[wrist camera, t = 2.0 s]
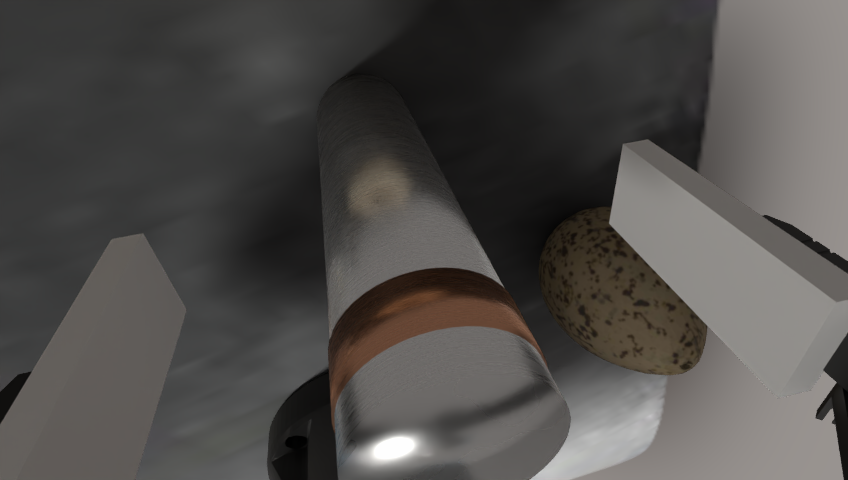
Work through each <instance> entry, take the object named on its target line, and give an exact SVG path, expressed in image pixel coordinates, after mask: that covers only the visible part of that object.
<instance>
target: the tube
mask: <svg viewBox="0 0 848 480" xmlns="http://www.w3.org/2000/svg"><path fill="white" fill-rule="evenodd" d="M317 128H318V145H319V163H320V180H321V197H322V214H323V231H324V248H325V266H326V283H327V300H328V317H329V334H330V340H329V346H328V361H329V380H330V399H331V418H332V426H333V430H334V433H335V437H336V455H337V472H338V480H529V479H531V478H532V477H533V476H535V475H536V474H537V473H538V472H540V471H541V470H542V469H543V468H544V467H545V466H546V465H547V464H548V463H549V462H550V461H551V460H552V459H553V458H554V457H555V455H556V454H557V453H558V452H559V450H560V449H561V447H562V446H563V444H564V442H565V440H566V438H567V435H568V432H569V428H570V418H571V417H570V412H569V408H568V406H567V404H566V402H565V400H564V398H563V396H562V394H561V392H560V390H559V389H558V387H557V385H556V383H555V381H554V379H553V377H552V376H551V374H550V372H549V370H548V366H547V362H546V359H545V357H544V355H543V353H542V351H541V349H540V347H539V346H538V344H537V342H536V340H535V338H534V337H533V335H532V333H531V331H530V329H529V327H528V326H527V324H526V322H525V320H524V318H523V316H522V315H521V313H520V311H519V309H518V307H517V305H516V304H515V302H514V300H513V298H512V297H511V295H510V294H509V293H508V291H507V290H506V289H505V288H504V286H503V285H502V283H501V281H500V279H499V277H498V275H497V273H496V272H495V270H494V268H493V266H492V264H491V262H490V260H489V259H488V257H487V255H486V253H485V251H484V249H483V247H482V246H481V244H480V242H479V240H478V238H477V236H476V234H475V233H474V231H473V229H472V227H471V225H470V223H469V221H468V220H467V218H466V216H465V214H464V212H463V210H462V208H461V207H460V205H459V203H458V201H457V199H456V197H455V195H454V194H453V192H452V190H451V188H450V186H449V184H448V182H447V181H446V179H445V177H444V175H443V173H442V171H441V169H440V168H439V166H438V164H437V162H436V160H435V158H434V156H433V155H432V153H431V151H430V149H429V147H428V145H427V143H426V142H425V140H424V138H423V136H422V134H421V132H420V130H419V129H418V127H417V125H416V123H415V121H414V119H413V117H412V116H411V114H410V112H409V110H408V108H407V106H406V104H405V103H404V101H403V99H402V97H401V95H400V94H399V92H398V91H397V90H396V89H395V88H394V87H393V86H392V85H391V84H390V83H388V82H387V81H385V80H383V79H381V78H379V77H376V76H373V75H368V74H357V75H351V76H347V77H345V78H342V79H340V80H339V81H337V82H336V83H334V84H333V85H332V86H331V87H330V88H329V89H328V90H327V91H326V92H325V94H324V95H323V97H322V99H321V101H320V103H319V107H318V111H317Z"/></svg>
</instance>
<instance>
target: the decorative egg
mask: <svg viewBox="0 0 848 480" xmlns="http://www.w3.org/2000/svg"><path fill="white" fill-rule="evenodd" d="M611 209H612V207H605V206H603V207H594V208H589V209H585V210H582V211H579V212H577V213H575V214H573V215H571V216H570V217H568V218H567V219H565V220H564V221H563V222H561V223H560V224H559V225H558V226H557V227H556V228H555V229H554V231H553V232H552V233H551V234H550V236H549V237H548V239H547V241H546V243H545V245H544V248H543V250H542V253H541V257H540V263H539V280H540V287H541V291H542V295H543V298H544V300H545V303H546V305H547V307H548V309H549V311H550V313H551V314H552V316H553V317H554V319H555V320H556V321H557V323H558V324H559V325H560V326H561V328H562V329H563V330H564V331H565V332H566V333H567V334H568V335H569V336H570V337H571V338H572V339H573V340H574V341H576V342H577V343H578V344H580V345H581V346H582V347H583V348H585V349H586V350H588V351H590V352H591V353H593V354H595V355H596V356H598V357H600V358H602V359H604V360H606V361H608V362H611V363H613V364H616V365H619V366H621V367H624V368H627V369H630V370H634V371H638V372H642V373H649V374H658V375H674V374H682V373H684V372H687V371H688V370H690V369H692V368H693V367H694V366H695V365H696V364H697V363H698V362H699V360H700V358H701V355H702V353H703V349H704V346H705V341H706V334H707V325H706V324H705V323H704V322H703V321H702V320H701V319H700V318H699V317H698V316H697V314H696V313H695V312H694V311H693V310H692V309H691V308H690V307H689V306H688V305H687V304H686V303H685V302H684V301H683V300H682V299H681V298H680V297H679V296H678V295H677V294H676V293H675V292H674V291H673V290H672V288H671V287H670V286H669V285H668V284H667V283H666V282H665V281H664V280H663V279H662V278H661V277H660V276H659V275H658V274H657V273H656V272H655V271H654V270H653V269H652V268H651V267H650V266H649V265H648V264H647V262H646V261H645V260H644V259H643V258H642V257H641V256H640V255H639V254H638V253H637V252H636V251H635V250H634V249H633V248H632V247H631V246H630V245H629V244H628V243H627V242H626V241H625V240H624V239H623V238H622V236H621V235H620V234H619V233H618V232H617V231H616V230H615V229H614V228H613V227H612V226H611V225H610V224H609V221H610V215H611Z"/></svg>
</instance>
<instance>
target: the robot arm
mask: <svg viewBox="0 0 848 480" xmlns="http://www.w3.org/2000/svg"><path fill="white" fill-rule="evenodd" d="M609 224H610V225H611V226H612V227H613V228H614V229H615V230H616V231H617V232H618V233H619V234H620V235H621V236H622V238H623V239H624V240H625V241H626V242H627V243H628V244H629V245H630V246H631V247H632V248H633V249H634V250H635V251H636V252H637V253H638V254H639V255H640V256H641V257H642V258H643V259H644V260H645V261H646V262H647V264H648V265H649V266H650V267H651V268H652V269H653V270H654V271H655V272H656V273H657V274H658V275H659V276H660V277H661V278H662V279H663V280H664V281H665V282H666V283H667V284H668V285H669V286H670V287H671V288H672V290H673V291H674V292H675V293H676V294H677V295H678V296H679V297H680V298H681V299H682V300H683V301H684V302H685V303H686V304H687V305H688V306H689V307H690V308H691V309H692V310H693V311H694V312H695V313H696V314H697V316H698V317H699V318H700V319H701V320H702V321H703V322H704V323H705V324H706V325H707V326H708V327H709V328H710V329H711V330H712V331H713V332H714V333H715V334H716V335H717V336H718V337H719V338H720V339H721V340H722V341H723V343H724V344H725V345H726V346H727V347H728V348H729V349H730V350H731V351H732V352H733V353H734V354H735V355H736V356H737V357H738V358H739V359H740V360H741V361H742V362H743V363H744V364H745V365H746V366H747V368H749V370H750V371H751V372H752V373H753V374H754V375H755V376H756V377H757V378H758V379H759V380H760V381H761V382H762V383H763V384H764V385H765V386H766V387H767V388H768V389H769V390H770V391H771V392H772V394H774V395H775V397H776V398H777V399H779V398H783V397H787V396H791V395H794V394H798V393H802V392H806V391H810V390H811V389H812V388H813V386H814V385H815V383H816V382H817V380H818V379H819V377H820V376H821V374H822V373H823V371H825V372H826V373H827V374H828V375H829V376H830V377H831V378H833V379H834V380H835V381H836V382H837V383H836V384H835V386H834V387H833V389H832V390H831V391H830V393H829V394H828V396H827V397H826V398H825V400H824V401H823V403H822V404H821V405H820V407H819V408H818V410H817V413H816V418H817V419H820V420H823V419H824V417H825V416H826V414H827V413H828V412H829V410H830V409H832V408H833V411H834V417H835V419H834V420H833V421H832V423H833V424H836V431H837V437H838V444H839V451H840V457H841V464H842V470H843V477H844V480H848V261H846V260H845V259H843V258H842V257H840V256H839V255H837V254H836V253H830V249H828V248H826V247H825V246H823V245H822V244H820V243H819V242H817V241H816V242H814V241H813V239H812V238H811V237H810V236H808V235H806V234H805V233H803V232H802V231H800V230H799V229H797V228H796V227H794V226H793V225H790V224H788V223H785V222H783V221H780V220H778V219H775V218H773V217H770V216H767V215H764V216H761V215H760V214H758V213H756V212H755V211H753V210H752V209H751V208H749V207H747V206H746V205H745V204H743V203H742V202H740V201H739V200H737V199H736V198H734V197H733V196H731V195H730V194H728V193H727V192H725V191H724V190H722V189H721V188H719V187H718V186H716V185H715V184H713V183H712V182H710V181H709V180H708V179H706V178H705V177H703V176H702V175H700V174H699V173H697V172H696V171H694V170H693V169H691V168H690V167H688V166H687V165H685V164H684V163H682V162H681V161H679V160H678V159H676V158H675V157H673V156H672V155H670V154H669V153H667V152H666V151H664V150H663V149H661V148H660V147H658V146H657V145H656V144H654V143H653V142H651V141H650V140H648V139H647V140H642V141H636V142H631V143H626V144H623V147H622V152H621V158H620V164H619V169H618V175H617V181H616V186H615V192H614V198H613V204H612V209H611V215H610V221H609ZM186 311H187V310H186V308H185V306H184V304H183V303H182V301H181V299H180V297H179V296H178V294H177V292H176V290H175V289H174V287H173V285H172V283H171V282H170V280H169V278H168V276H167V275H166V273H165V271H164V269H163V268H162V266H161V264H160V262H159V261H158V259H157V257H156V255H155V254H154V252H153V250H152V248H151V246H150V245H149V243H148V241H147V239H146V238H145V236H144V234H143V233H142V234H137V235H132V236H126V237H121V238H116V239H111V241H110V243H109V244H108V246H107V248H106V249H105V251H104V253H103V254H102V256H101V258H100V259H99V261H98V263H97V264H96V266H95V268H94V269H93V271H92V273H91V274H90V276H89V278H88V279H87V281H86V283H85V284H84V286H83V288H82V289H81V291H80V293H79V294H78V296H77V298H76V299H75V301H74V303H73V304H72V306H71V308H70V309H69V311H68V313H67V314H66V316H65V318H64V319H63V321H62V322H61V324H60V326H59V327H58V329H57V331H56V332H55V334H54V336H53V337H52V339H51V341H50V342H49V344H48V346H47V347H46V349H45V351H44V352H43V354H42V356H41V357H40V359H39V361H38V362H37V364H36V366H35V367H34V369H33V371H32V372H28V373H23V374H18V375H17V376H16V377H15V378H14V379H13V380H12V381H11V382H10V383H9V384H8V385H7V386H6V387H5V388H4V389H3V390H2V391H1V392H0V480H135V478H136V474H137V471H138V468H139V464H140V461H141V458H142V455H143V451H144V448H145V445H146V442H147V438H148V435H149V432H150V429H151V425H152V422H153V419H154V415H155V412H156V409H157V406H158V402H159V399H160V396H161V393H162V389H163V386H164V383H165V379H166V376H167V373H168V370H169V366H170V363H171V360H172V357H173V353H174V350H175V347H176V343H177V340H178V337H179V334H180V330H181V327H182V324H183V321H184V317H185V314H186ZM267 467H268V475H269V479H270V480H338V472H337V455H336V437H335V433H334V430H333V426H332V418H331V399H330V380H329V373H327V374H325V375H323V376H321V377H319V378H317V379H315V380H313V381H311V382H310V383H308V384H307V385H305V386H304V387H302V388H301V389H299V390H298V391H297V392H296V393H294V394H293V395H292V396H291V397H290V398H289V399H288V400H287V401H286V402H285V403H284V404H283V405H282V407H281V408H280V409H279V411H278V412H277V414H276V415H275V417H274V419H273V421H272V424H271V427H270V432H269V443H268V458H267Z"/></svg>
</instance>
